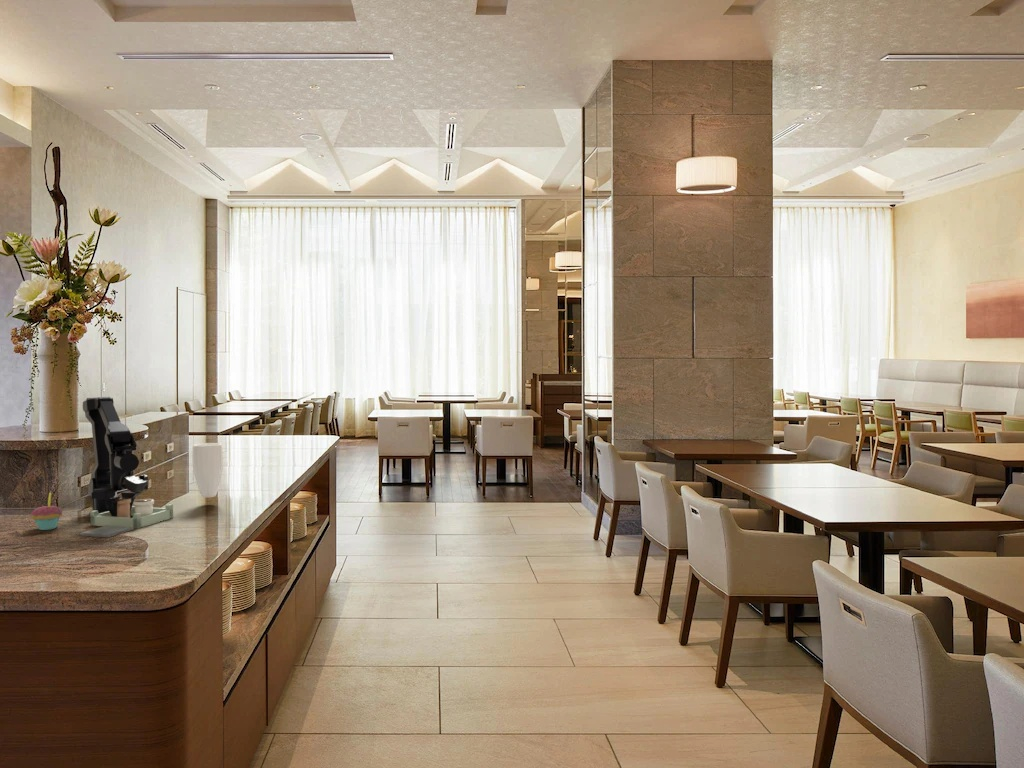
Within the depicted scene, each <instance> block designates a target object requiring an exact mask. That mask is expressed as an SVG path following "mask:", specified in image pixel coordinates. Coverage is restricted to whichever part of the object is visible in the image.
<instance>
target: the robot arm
mask: <svg viewBox="0 0 1024 768" xmlns="http://www.w3.org/2000/svg"><path fill="white" fill-rule="evenodd" d="M114 404H115V402H114V398H113V397H111V396H99V397H98V396H97V397H87V398H86V399H85V400H84V401H83V402H82V410H83V412H84V415H85V418H86V419H87V421H88V422H89V423H90V424H91V431H92V442H93V443H92V444H93V452H94V464H95V466H94V468H93V470H92V472H91V474H90V475H91V476H90V477H91V478H90V480H89V483H88V486H87V494H88V495H89V496H90V498H91V499H92V511H94V510H95V511H98V514H99V513H103V512H107V511H109V512H110V513H111V515H112V516H113V517H117V501H118V500H119V499H120V498H131V503H130V511H131V508H132V506H134V505H133V501H135V500H136V497H137V496H139V495H140V494H142V492H144V491H147V490H149V476H148V475H147V474H141V475H139V476H135V475H134V471H135V470H136V469H138V467H139V464H140V459H139V458H138V456H137V455H135V454H134V453H133V452H134V451H137V447H138V445H137V442H136V439H135V437H134V435H133V432H132V431H131V430H130V428H129V427H128V426H127V425H126V424H123V423H122V421H121V419H120V418H119V415H118V412H117V410H116V408H115V405H114ZM118 494H121V496H118Z"/></svg>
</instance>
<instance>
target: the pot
mask: <svg viewBox="0 0 1024 768" xmlns="http://www.w3.org/2000/svg"><path fill="white" fill-rule="evenodd" d="M154 504H155V499H153V498H144V499H137V500H136V499H134V501H133V505H132V506H135V513H141V517H143V516H146V515H150V514H153V508H154Z"/></svg>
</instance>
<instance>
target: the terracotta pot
mask: <svg viewBox="0 0 1024 768" xmlns="http://www.w3.org/2000/svg"><path fill="white" fill-rule="evenodd" d="M130 503H131V498H122V497H120V499H119V500H118V501H117V517H128V518H131V516H130Z"/></svg>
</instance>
